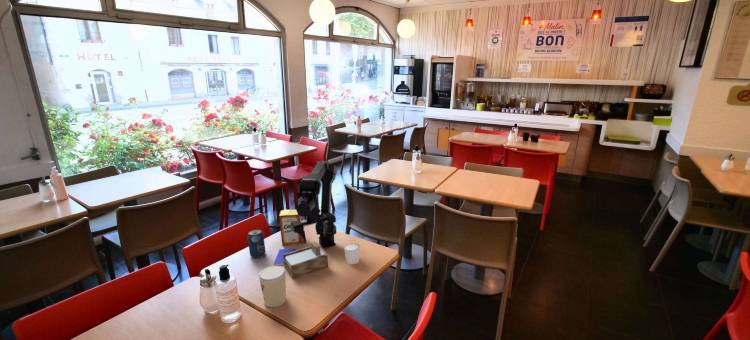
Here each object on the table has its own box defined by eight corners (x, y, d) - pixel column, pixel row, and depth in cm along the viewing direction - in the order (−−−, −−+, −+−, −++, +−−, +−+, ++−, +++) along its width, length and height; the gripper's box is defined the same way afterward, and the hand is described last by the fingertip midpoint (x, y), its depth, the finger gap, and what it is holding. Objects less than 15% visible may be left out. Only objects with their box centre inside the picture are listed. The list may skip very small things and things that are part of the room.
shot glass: (363, 260, 154) (362, 246, 152) (352, 266, 149) (351, 252, 147) (352, 255, 158) (352, 241, 156) (341, 261, 154) (340, 247, 152)
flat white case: (317, 248, 156) (316, 238, 155) (325, 257, 149) (325, 246, 147) (285, 258, 149) (283, 248, 147) (292, 268, 141) (290, 257, 140)
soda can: (263, 259, 157) (259, 235, 154) (247, 259, 157) (244, 235, 154) (267, 251, 164) (265, 228, 160) (253, 251, 164) (250, 228, 160)
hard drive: (292, 262, 152) (296, 248, 164) (273, 263, 152) (279, 249, 163) (292, 265, 152) (296, 251, 164) (273, 266, 152) (279, 252, 164)
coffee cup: (265, 293, 133) (261, 266, 129) (290, 291, 134) (287, 264, 130) (259, 309, 124) (255, 280, 120) (286, 307, 125) (282, 278, 121)
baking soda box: (302, 237, 176) (300, 208, 172) (301, 243, 170) (299, 213, 166) (283, 239, 175) (280, 209, 171) (282, 245, 169) (278, 215, 164)
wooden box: (318, 256, 158) (317, 244, 157) (328, 267, 149) (327, 254, 148) (284, 266, 150) (282, 254, 149) (292, 279, 141) (291, 266, 140)
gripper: (324, 196, 156) (327, 227, 161) (284, 205, 147) (287, 238, 151) (335, 204, 147) (337, 237, 151) (293, 214, 138) (296, 249, 142)
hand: (314, 240), depth 149 cm, fingers open, 9 cm apart
